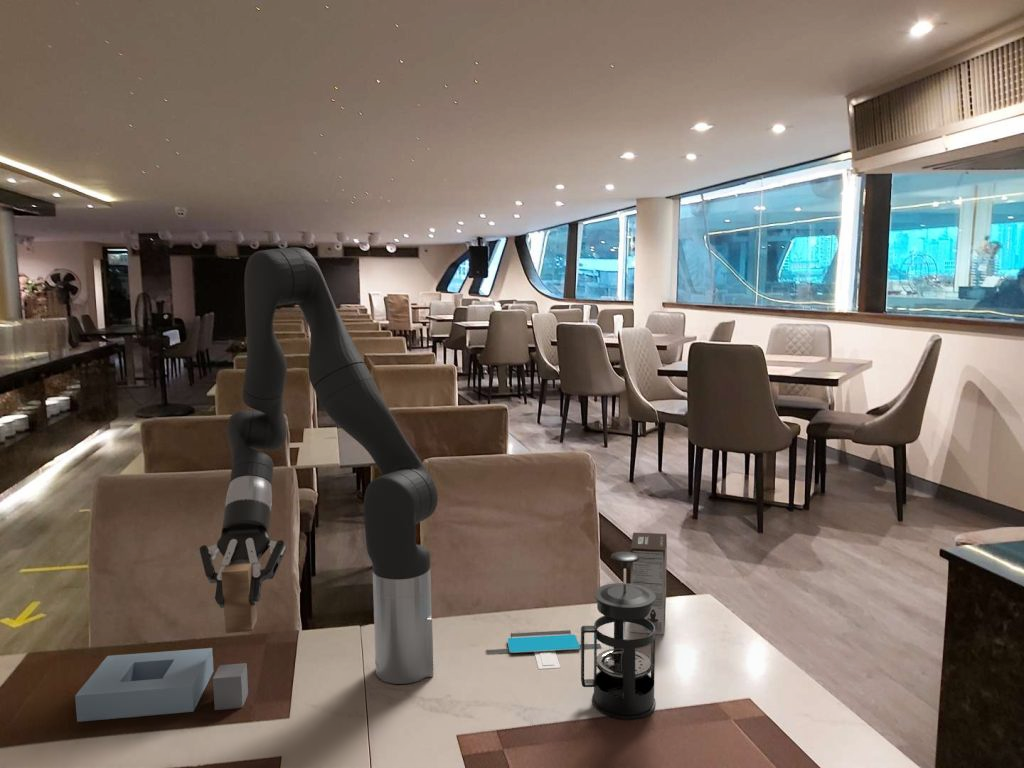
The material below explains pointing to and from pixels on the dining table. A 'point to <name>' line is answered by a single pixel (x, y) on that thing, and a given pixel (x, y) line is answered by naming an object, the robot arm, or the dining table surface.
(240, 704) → the grey upright block
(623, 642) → the french press
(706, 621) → the dining table surface
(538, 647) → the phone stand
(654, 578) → the coffee box
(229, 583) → the walnut pin
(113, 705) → the blue-grey flat frame
